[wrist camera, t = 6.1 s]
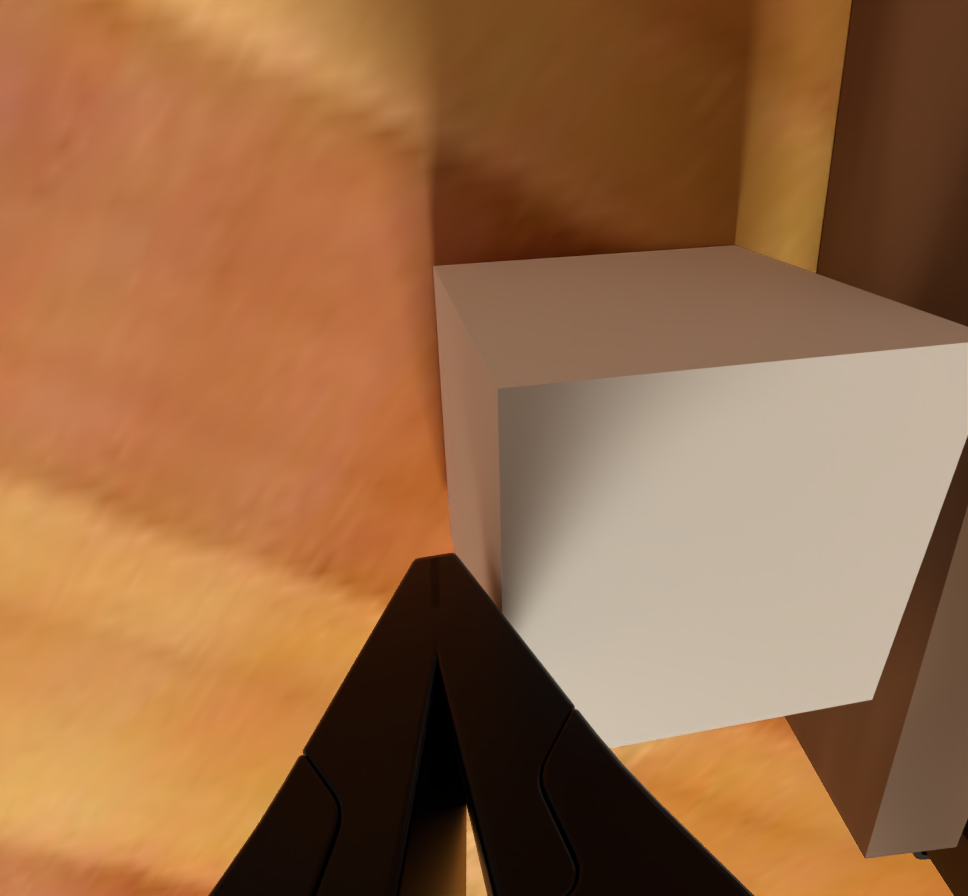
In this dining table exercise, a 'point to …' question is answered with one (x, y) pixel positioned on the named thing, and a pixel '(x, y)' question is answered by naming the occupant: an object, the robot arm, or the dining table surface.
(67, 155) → the dining table surface
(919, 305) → the stop board
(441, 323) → the plain white cube
